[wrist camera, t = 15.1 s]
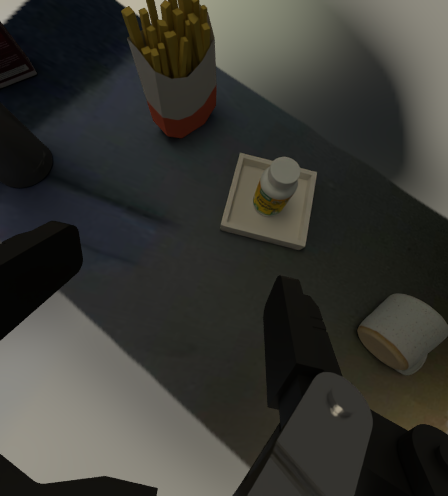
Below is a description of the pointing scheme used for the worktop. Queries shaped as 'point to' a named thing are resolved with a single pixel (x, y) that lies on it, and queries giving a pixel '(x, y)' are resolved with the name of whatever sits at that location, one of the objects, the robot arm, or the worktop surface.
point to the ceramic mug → (402, 332)
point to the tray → (267, 227)
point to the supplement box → (12, 60)
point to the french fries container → (175, 63)
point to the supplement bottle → (276, 186)
